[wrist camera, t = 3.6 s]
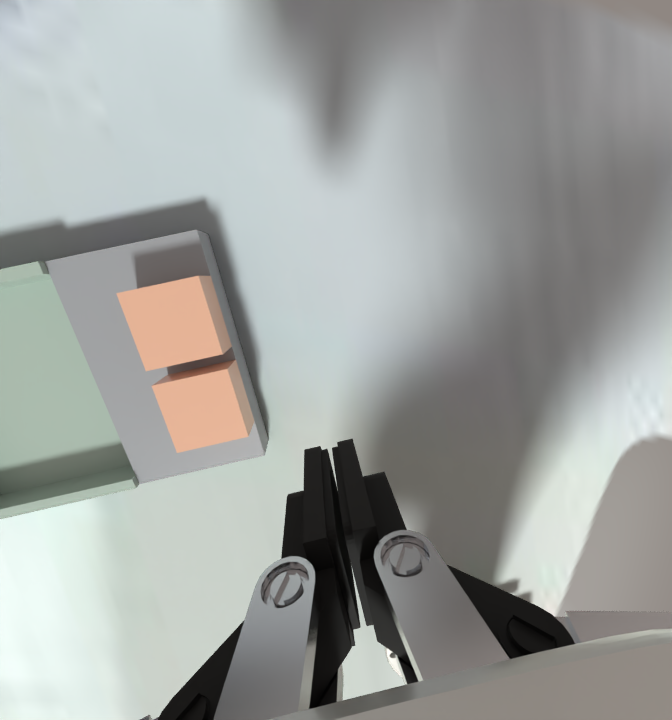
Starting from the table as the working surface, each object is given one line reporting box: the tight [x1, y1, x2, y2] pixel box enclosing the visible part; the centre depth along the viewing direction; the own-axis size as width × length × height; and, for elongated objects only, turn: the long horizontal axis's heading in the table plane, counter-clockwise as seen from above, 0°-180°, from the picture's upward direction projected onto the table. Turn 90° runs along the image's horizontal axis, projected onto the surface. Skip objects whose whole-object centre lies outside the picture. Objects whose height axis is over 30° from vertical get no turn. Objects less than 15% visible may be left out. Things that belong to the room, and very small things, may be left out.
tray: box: [0, 261, 139, 519], centre depth 24 cm, size 13×17×3 cm
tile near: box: [116, 276, 232, 371], centre depth 21 cm, size 5×5×2 cm
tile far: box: [152, 360, 254, 453], centre depth 23 cm, size 5×5×2 cm
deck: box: [44, 229, 268, 484], centre depth 24 cm, size 10×17×2 cm, turn 12°
